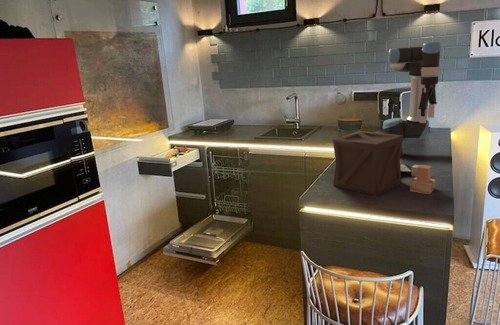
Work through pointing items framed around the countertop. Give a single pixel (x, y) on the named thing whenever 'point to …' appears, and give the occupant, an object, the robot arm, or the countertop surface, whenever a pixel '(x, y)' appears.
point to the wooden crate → (368, 162)
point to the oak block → (422, 186)
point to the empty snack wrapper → (405, 168)
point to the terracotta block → (423, 173)
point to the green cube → (414, 170)
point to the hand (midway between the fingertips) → (426, 120)
